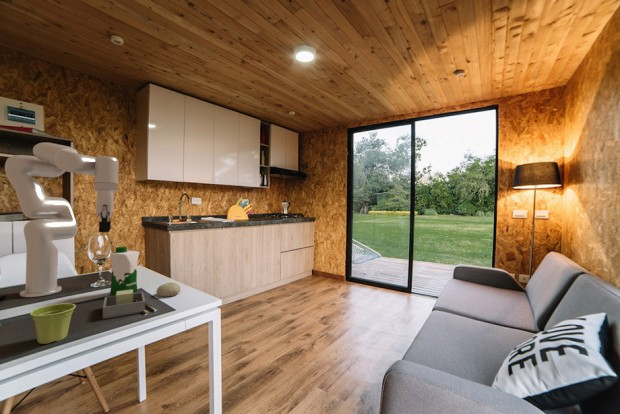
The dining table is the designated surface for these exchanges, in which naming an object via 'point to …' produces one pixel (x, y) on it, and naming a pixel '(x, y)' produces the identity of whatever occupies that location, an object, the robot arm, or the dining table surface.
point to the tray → (123, 306)
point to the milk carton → (123, 270)
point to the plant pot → (52, 322)
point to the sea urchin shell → (168, 289)
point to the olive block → (124, 297)
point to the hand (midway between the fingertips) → (104, 231)
